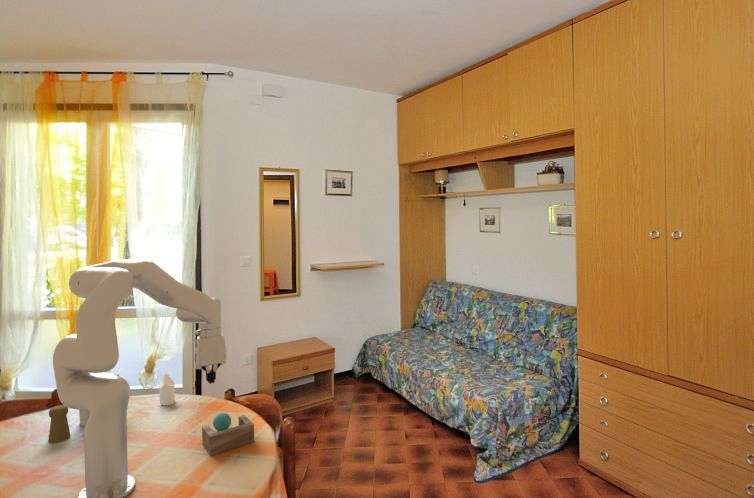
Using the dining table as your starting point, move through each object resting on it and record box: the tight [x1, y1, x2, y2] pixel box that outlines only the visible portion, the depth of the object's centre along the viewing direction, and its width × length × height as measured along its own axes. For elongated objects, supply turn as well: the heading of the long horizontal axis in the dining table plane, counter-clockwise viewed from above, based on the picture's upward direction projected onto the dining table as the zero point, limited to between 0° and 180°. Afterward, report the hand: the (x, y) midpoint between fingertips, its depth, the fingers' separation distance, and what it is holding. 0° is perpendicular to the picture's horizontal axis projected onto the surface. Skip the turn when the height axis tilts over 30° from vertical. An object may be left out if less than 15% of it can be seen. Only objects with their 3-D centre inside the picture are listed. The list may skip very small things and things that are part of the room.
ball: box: [212, 412, 232, 432], centre depth 145 cm, size 6×6×6 cm
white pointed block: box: [158, 373, 176, 407], centre depth 168 cm, size 6×12×6 cm
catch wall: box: [201, 414, 255, 457], centre depth 136 cm, size 9×14×6 cm, turn 128°
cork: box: [47, 404, 71, 444], centre depth 139 cm, size 6×6×11 cm
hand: (211, 382), depth 150 cm, fingers closed
